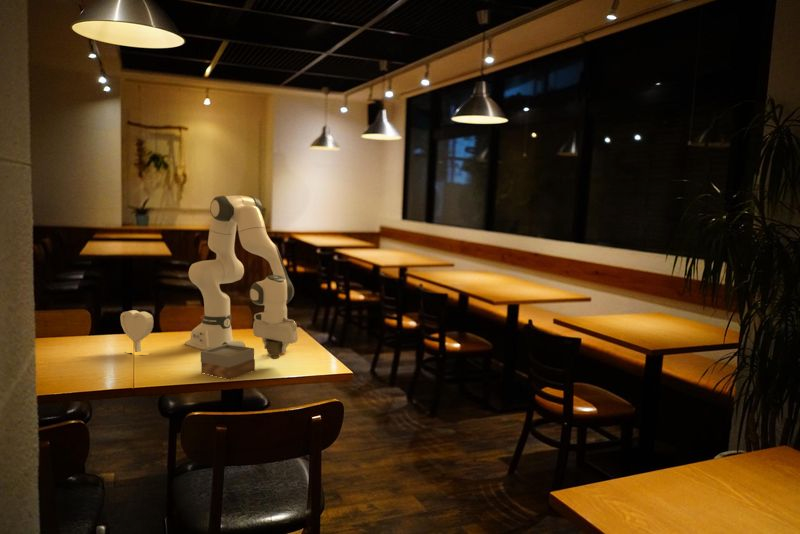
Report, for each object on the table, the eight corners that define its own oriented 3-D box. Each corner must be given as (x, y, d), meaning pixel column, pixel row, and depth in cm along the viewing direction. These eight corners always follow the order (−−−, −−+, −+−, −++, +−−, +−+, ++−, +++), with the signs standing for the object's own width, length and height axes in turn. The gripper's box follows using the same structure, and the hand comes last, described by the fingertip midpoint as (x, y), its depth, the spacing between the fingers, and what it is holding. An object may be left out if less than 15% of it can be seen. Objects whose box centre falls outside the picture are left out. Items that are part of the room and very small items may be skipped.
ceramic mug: (247, 358, 250) (247, 340, 249) (229, 362, 244) (229, 343, 243) (234, 354, 257) (234, 336, 257) (216, 357, 252) (216, 339, 251)
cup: (279, 361, 234) (280, 342, 233) (262, 360, 236) (262, 340, 235) (287, 356, 241) (287, 337, 240) (270, 355, 243) (270, 335, 242)
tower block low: (201, 374, 228) (201, 361, 227) (228, 365, 240) (228, 353, 240) (228, 380, 221) (228, 367, 221) (254, 371, 234) (254, 359, 233)
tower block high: (200, 362, 227) (200, 351, 227) (226, 353, 240) (226, 343, 239) (228, 367, 221) (228, 356, 220) (254, 358, 233) (254, 348, 233)
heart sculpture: (119, 352, 255) (118, 310, 253) (129, 349, 260) (128, 308, 257) (146, 357, 248) (145, 314, 246) (155, 354, 253) (154, 312, 251)
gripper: (301, 319, 234) (300, 353, 236) (261, 311, 244) (261, 344, 246) (291, 321, 229) (290, 356, 230) (250, 314, 238) (250, 348, 240)
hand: (275, 350), depth 238 cm, fingers closed on cup, 7 cm apart
